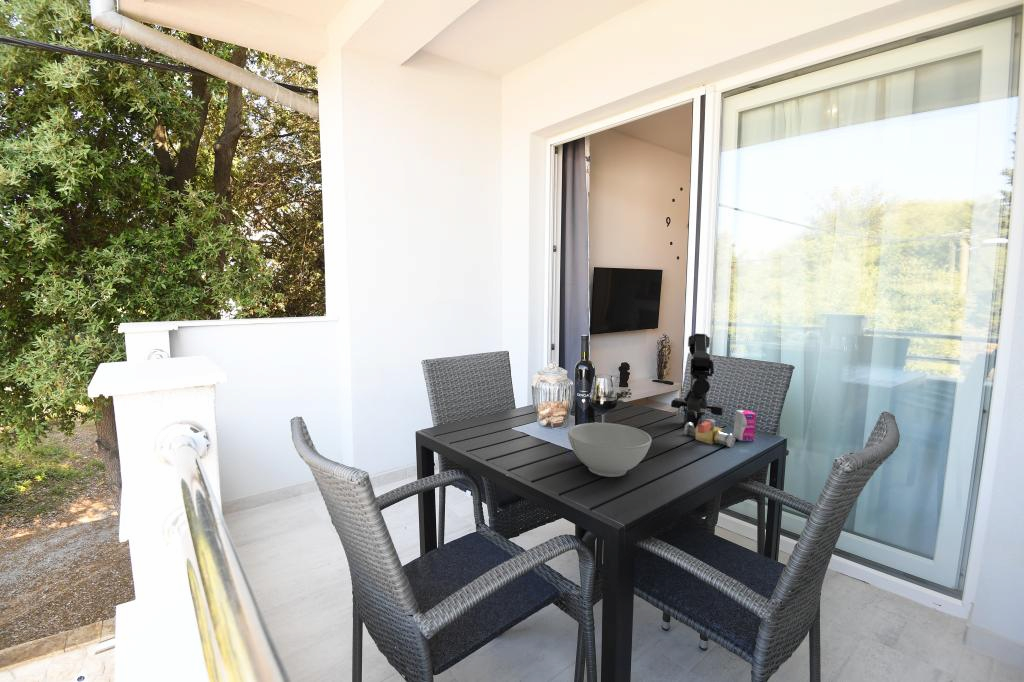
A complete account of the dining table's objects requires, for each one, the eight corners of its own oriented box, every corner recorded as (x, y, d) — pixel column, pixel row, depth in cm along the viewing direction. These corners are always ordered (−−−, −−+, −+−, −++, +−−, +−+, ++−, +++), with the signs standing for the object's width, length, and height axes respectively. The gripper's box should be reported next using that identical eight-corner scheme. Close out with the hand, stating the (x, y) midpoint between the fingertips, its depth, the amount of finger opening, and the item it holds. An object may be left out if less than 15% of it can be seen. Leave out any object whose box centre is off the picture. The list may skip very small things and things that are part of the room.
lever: (706, 425, 196) (707, 418, 196) (715, 427, 194) (716, 419, 194) (695, 431, 187) (695, 424, 186) (704, 433, 184) (705, 426, 184)
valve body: (682, 435, 200) (683, 423, 199) (692, 432, 204) (693, 420, 204) (726, 448, 185) (727, 435, 184) (736, 445, 189) (737, 432, 188)
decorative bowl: (549, 468, 161) (551, 432, 159) (597, 450, 179) (599, 418, 178) (619, 494, 142) (621, 454, 140) (664, 471, 161) (667, 435, 159)
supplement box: (739, 441, 194) (742, 413, 193) (732, 436, 200) (735, 409, 199) (754, 441, 194) (756, 413, 193) (746, 437, 200) (749, 409, 199)
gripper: (668, 388, 185) (665, 428, 187) (721, 396, 175) (717, 438, 177) (676, 383, 194) (672, 421, 196) (726, 391, 184) (722, 431, 186)
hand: (695, 428), depth 189 cm, fingers closed
